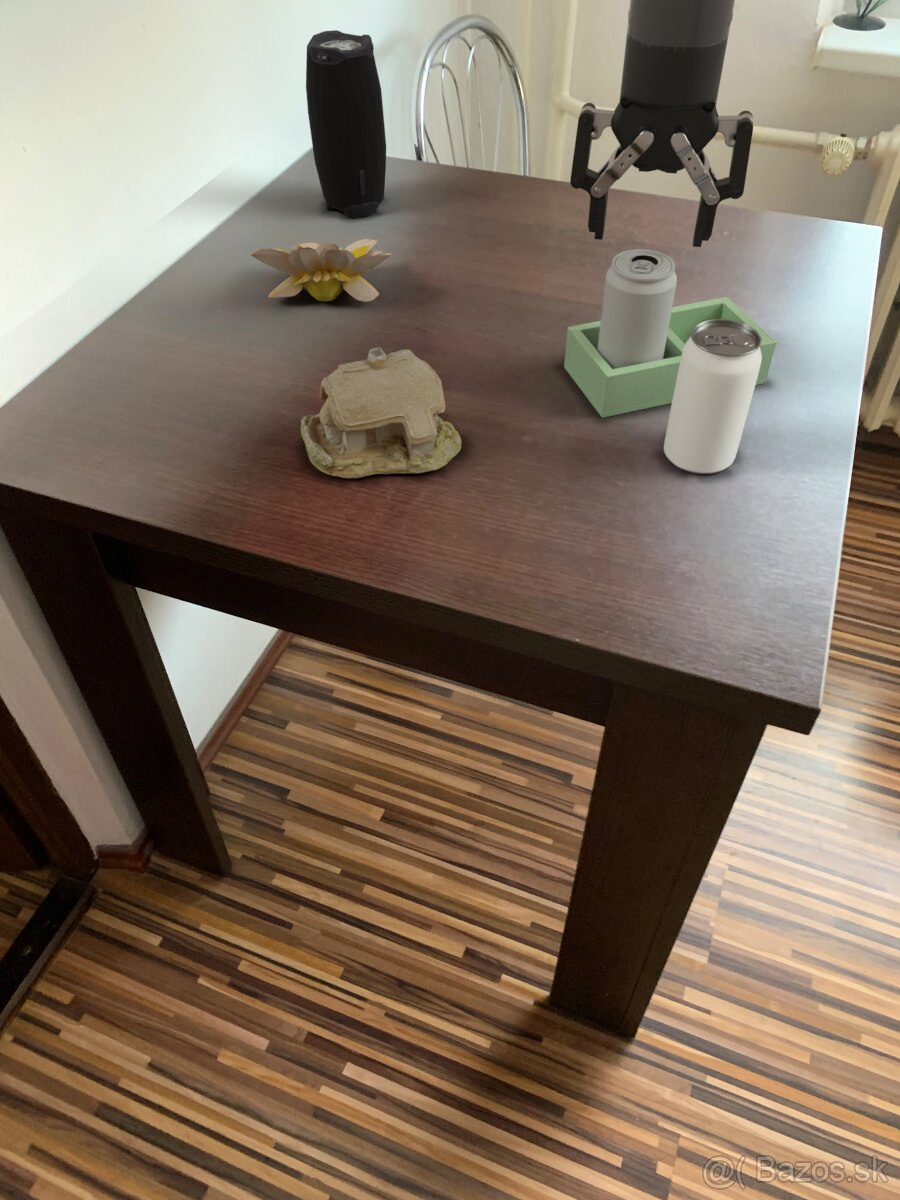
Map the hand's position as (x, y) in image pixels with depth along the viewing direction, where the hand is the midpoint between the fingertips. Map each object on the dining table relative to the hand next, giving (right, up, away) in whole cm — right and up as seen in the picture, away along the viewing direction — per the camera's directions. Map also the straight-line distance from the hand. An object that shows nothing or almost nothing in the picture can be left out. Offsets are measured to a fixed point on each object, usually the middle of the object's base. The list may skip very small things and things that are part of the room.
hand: (647, 239), depth 78 cm
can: (+5, -19, +3) cm, 20 cm away
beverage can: (0, -10, +10) cm, 14 cm away
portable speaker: (-30, +21, +40) cm, 55 cm away
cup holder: (+4, -9, +12) cm, 15 cm away
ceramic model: (-24, -18, +5) cm, 30 cm away
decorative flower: (-31, +4, +25) cm, 40 cm away
